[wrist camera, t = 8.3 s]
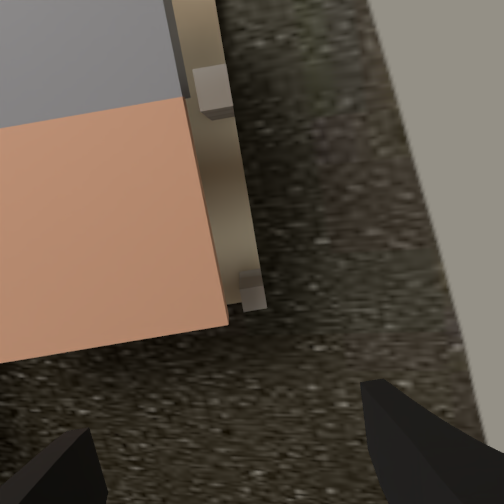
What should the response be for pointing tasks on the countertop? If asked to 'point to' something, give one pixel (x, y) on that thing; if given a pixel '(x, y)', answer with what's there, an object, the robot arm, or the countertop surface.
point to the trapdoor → (99, 180)
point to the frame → (219, 152)
